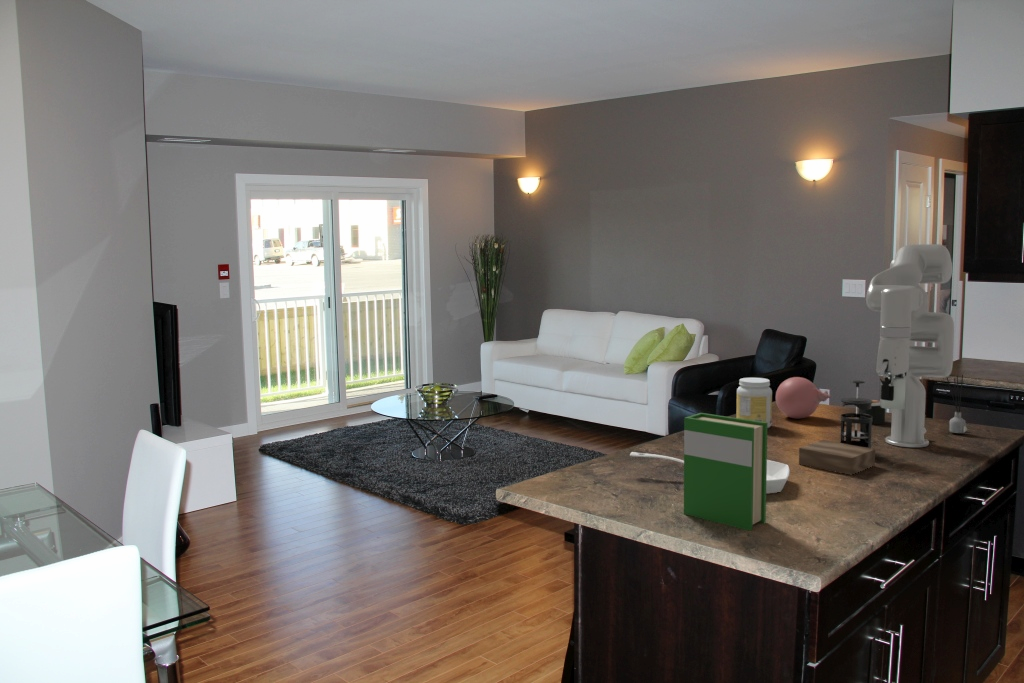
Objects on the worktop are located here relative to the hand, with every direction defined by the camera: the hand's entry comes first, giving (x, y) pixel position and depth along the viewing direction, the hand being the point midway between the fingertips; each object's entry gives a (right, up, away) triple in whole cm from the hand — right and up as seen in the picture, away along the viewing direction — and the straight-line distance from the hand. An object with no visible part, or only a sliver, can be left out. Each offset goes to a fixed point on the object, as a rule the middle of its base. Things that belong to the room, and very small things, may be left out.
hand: (892, 397), depth 221 cm
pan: (-50, -24, +3) cm, 56 cm away
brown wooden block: (-9, -21, +15) cm, 28 cm away
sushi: (+25, -14, +70) cm, 75 cm away
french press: (+2, -19, +27) cm, 33 cm away
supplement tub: (-18, -15, +67) cm, 71 cm away
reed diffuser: (+45, -16, +51) cm, 70 cm away
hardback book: (-54, -27, -28) cm, 66 cm away
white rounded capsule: (0, -3, 0) cm, 3 cm away
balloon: (+3, -13, +77) cm, 78 cm away
